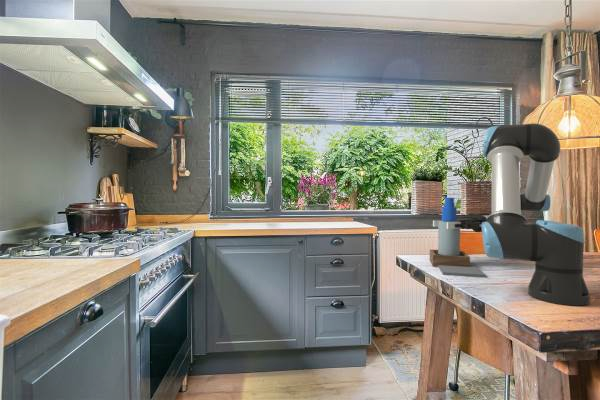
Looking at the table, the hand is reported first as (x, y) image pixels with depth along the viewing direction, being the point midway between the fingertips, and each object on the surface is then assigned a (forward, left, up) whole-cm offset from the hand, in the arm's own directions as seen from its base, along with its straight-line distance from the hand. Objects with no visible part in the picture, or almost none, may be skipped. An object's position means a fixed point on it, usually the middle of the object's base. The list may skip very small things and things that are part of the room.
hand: (440, 224), depth 152 cm
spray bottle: (+2, -4, -13) cm, 14 cm away
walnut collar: (+2, -4, -18) cm, 18 cm away
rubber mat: (-13, -6, -18) cm, 23 cm away
